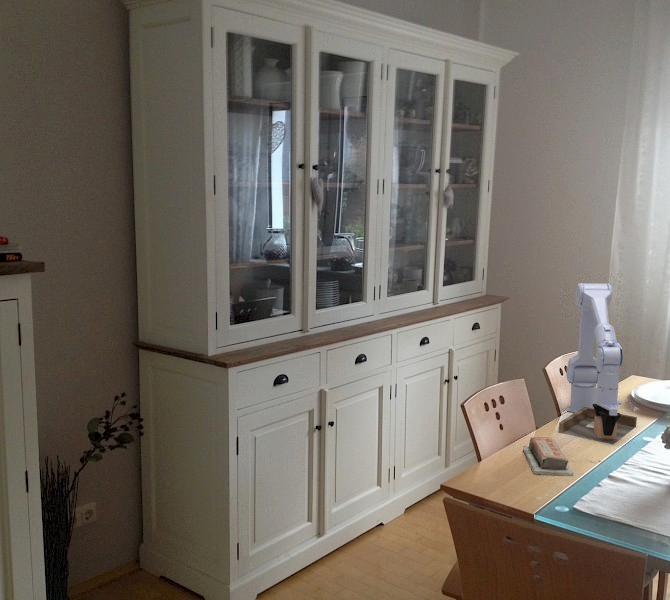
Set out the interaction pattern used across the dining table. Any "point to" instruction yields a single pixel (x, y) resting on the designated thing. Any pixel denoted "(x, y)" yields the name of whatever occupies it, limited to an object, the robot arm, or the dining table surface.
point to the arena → (584, 425)
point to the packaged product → (546, 457)
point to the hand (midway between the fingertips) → (604, 431)
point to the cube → (599, 429)
